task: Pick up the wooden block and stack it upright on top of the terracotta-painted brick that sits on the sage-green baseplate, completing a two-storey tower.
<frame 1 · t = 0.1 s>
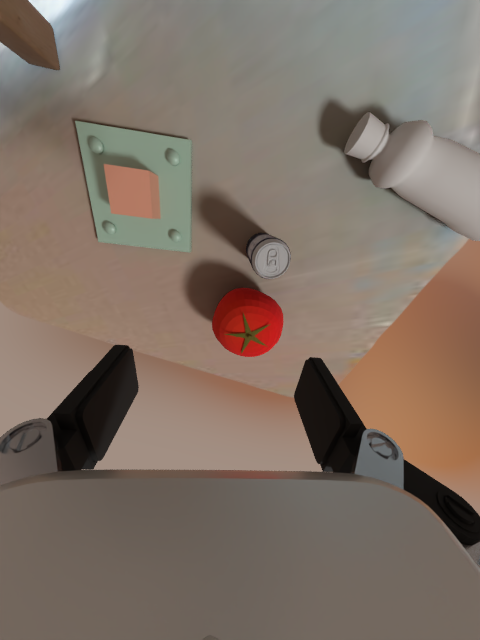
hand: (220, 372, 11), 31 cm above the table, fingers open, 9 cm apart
beverage can: (260, 248, 38), on the table
baseplate: (142, 196, 33), on the table
brick1: (140, 195, 32), point 1 cm above the table, touching baseplate
wooden block: (42, 47, 25), on the table
tomato: (246, 309, 44), on the table
bottle: (416, 180, 34), on the table
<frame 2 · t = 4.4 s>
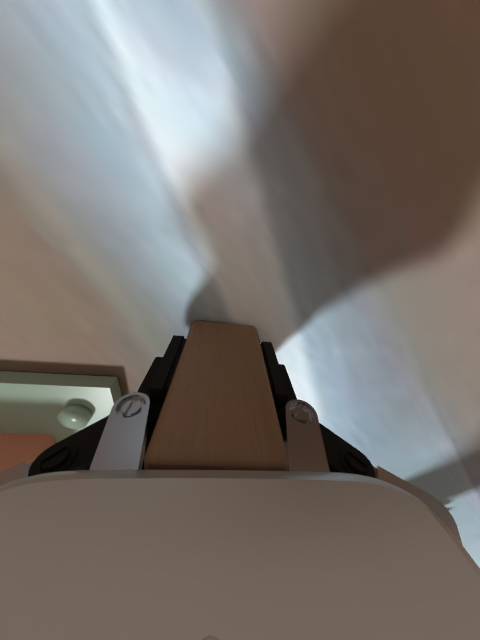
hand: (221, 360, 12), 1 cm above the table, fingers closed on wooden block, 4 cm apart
baseplate: (33, 443, 17), on the table
brick1: (22, 456, 16), point 1 cm above the table, touching baseplate
wooden block: (222, 345, 13), on the table, touching gripper
when the fingers open (8 cm above the table, at t = 9.4 s): wooden block drops 1 cm, resting on brick1.
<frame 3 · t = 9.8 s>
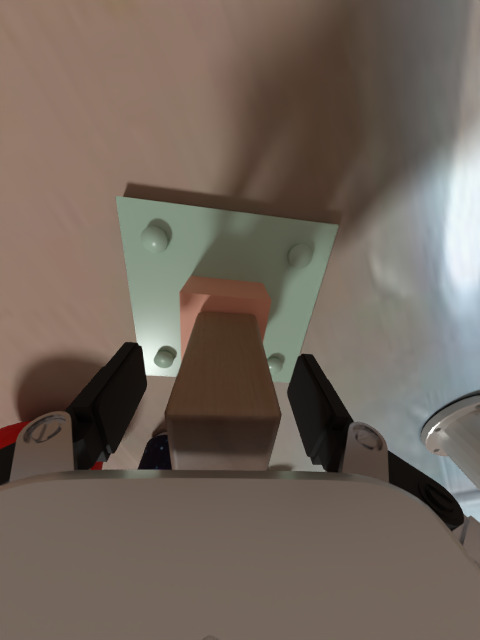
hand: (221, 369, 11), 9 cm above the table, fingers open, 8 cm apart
beverage can: (170, 439, 28), on the table
baseplate: (224, 307, 19), on the table
brick1: (224, 312, 18), point 1 cm above the table, touching baseplate, wooden block
wooden block: (226, 334, 14), point 5 cm above the table, touching brick1
tomato: (69, 432, 26), on the table
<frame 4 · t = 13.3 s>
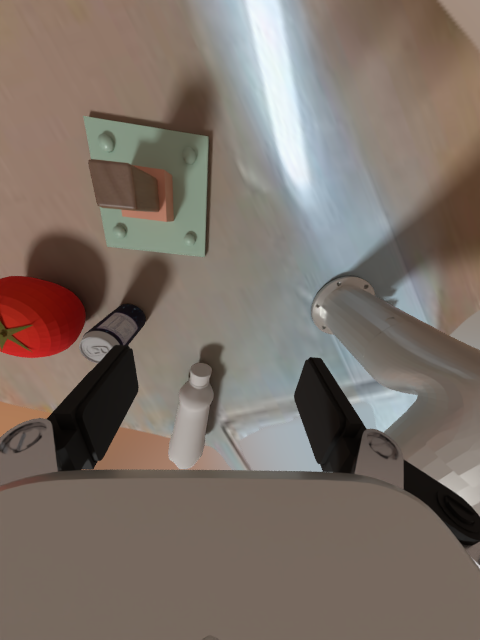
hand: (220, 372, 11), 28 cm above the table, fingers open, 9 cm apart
beverage can: (133, 314, 40), on the table
baseplate: (155, 197, 31), on the table
brick1: (152, 196, 30), point 1 cm above the table, touching baseplate, wooden block
wooden block: (144, 194, 27), point 5 cm above the table, touching brick1
tomato: (62, 304, 38), on the table
bottle: (196, 402, 53), on the table
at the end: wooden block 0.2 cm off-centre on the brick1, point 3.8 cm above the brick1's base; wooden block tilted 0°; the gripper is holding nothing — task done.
